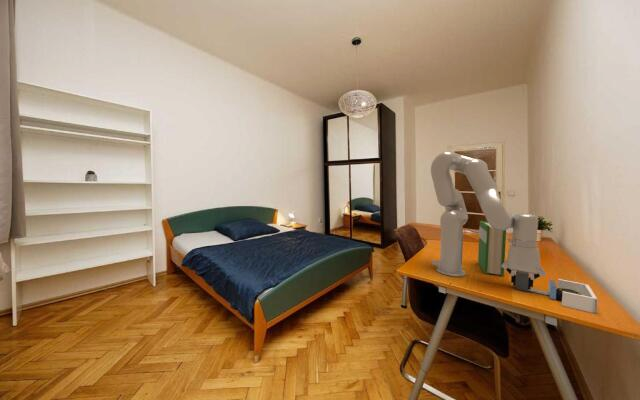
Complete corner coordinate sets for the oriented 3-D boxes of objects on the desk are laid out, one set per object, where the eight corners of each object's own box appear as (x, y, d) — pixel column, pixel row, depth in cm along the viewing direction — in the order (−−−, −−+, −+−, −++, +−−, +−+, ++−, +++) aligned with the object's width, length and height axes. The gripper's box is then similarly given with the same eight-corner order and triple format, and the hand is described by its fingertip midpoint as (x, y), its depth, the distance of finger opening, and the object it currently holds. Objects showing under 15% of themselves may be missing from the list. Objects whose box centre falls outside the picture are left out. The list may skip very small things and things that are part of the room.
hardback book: (503, 276, 109) (506, 227, 108) (484, 274, 113) (487, 225, 111) (494, 265, 125) (496, 221, 124) (477, 263, 128) (479, 220, 127)
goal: (561, 305, 83) (562, 292, 83) (557, 290, 95) (558, 278, 95) (596, 313, 78) (597, 299, 77) (587, 297, 90) (588, 284, 89)
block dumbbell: (514, 290, 95) (515, 273, 94) (515, 284, 101) (516, 268, 100) (555, 299, 87) (556, 281, 86) (553, 292, 93) (555, 275, 92)
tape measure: (555, 301, 87) (556, 291, 87) (554, 294, 92) (555, 285, 92) (583, 307, 82) (584, 297, 82) (580, 300, 87) (581, 291, 87)
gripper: (497, 241, 98) (495, 283, 99) (553, 249, 87) (550, 296, 88) (499, 238, 104) (497, 278, 105) (552, 245, 92) (549, 289, 94)
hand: (521, 285), depth 96 cm, fingers open, 4 cm apart
